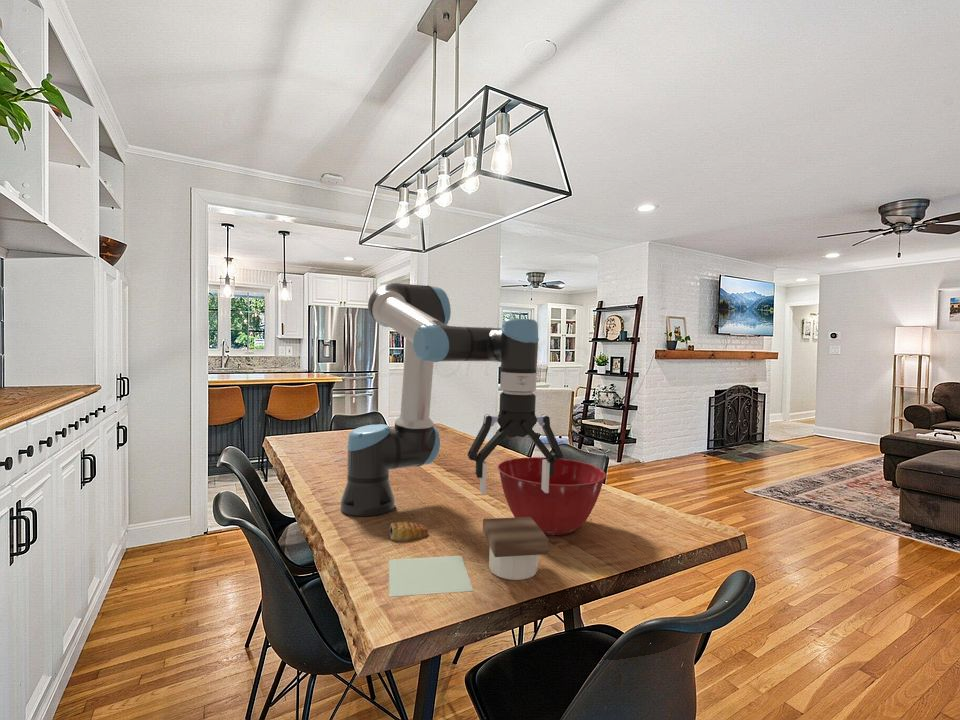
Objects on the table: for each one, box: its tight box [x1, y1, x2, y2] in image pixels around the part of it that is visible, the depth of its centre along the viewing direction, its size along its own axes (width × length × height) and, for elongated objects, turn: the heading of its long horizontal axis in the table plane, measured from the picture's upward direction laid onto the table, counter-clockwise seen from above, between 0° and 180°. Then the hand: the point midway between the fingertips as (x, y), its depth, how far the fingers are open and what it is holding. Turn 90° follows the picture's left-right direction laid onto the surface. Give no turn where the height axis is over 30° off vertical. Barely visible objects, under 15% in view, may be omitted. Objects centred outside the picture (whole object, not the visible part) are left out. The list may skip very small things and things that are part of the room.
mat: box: [388, 555, 474, 598], centre depth 102 cm, size 16×16×1 cm
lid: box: [482, 517, 550, 557], centre depth 105 cm, size 13×11×3 cm
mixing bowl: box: [497, 456, 607, 536], centre depth 132 cm, size 28×28×15 cm
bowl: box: [488, 547, 539, 581], centre depth 105 cm, size 10×10×6 cm
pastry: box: [388, 520, 429, 542], centre depth 123 cm, size 9×7×4 cm
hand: (514, 492), depth 105 cm, fingers open, 13 cm apart
